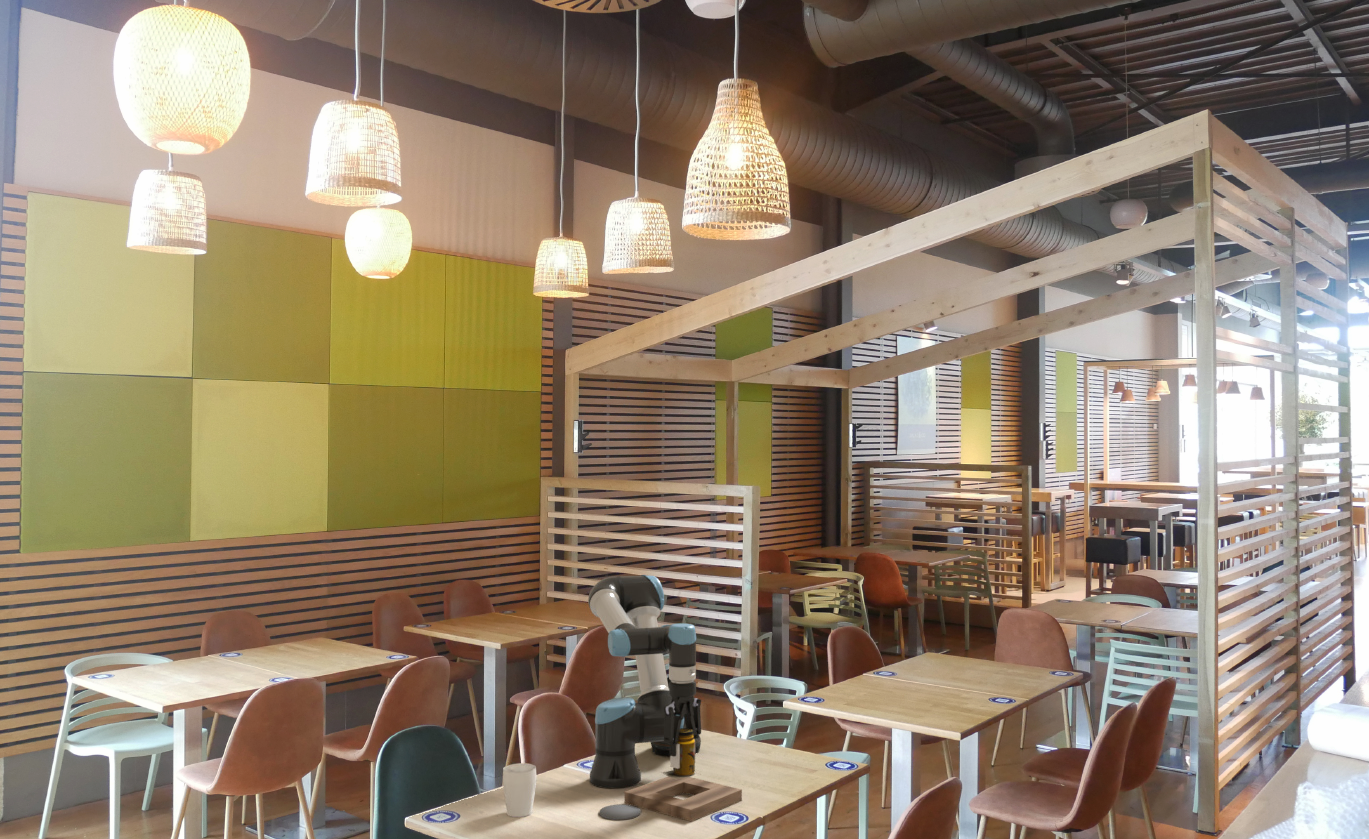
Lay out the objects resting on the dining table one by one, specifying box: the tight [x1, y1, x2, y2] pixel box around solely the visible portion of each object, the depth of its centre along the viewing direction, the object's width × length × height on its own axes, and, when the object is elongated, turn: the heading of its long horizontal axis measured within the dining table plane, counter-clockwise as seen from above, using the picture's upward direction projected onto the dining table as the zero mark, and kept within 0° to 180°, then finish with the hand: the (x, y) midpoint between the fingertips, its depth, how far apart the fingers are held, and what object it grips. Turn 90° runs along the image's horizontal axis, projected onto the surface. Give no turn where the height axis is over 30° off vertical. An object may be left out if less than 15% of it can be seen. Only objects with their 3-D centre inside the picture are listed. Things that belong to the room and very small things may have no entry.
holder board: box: [623, 776, 743, 822], centre depth 283 cm, size 24×22×3 cm
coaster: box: [598, 803, 642, 821], centre depth 274 cm, size 11×11×1 cm
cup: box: [502, 762, 538, 818], centre depth 275 cm, size 9×9×12 cm
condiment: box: [661, 728, 701, 780], centre depth 284 cm, size 7×8×12 cm
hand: (682, 764), depth 284 cm, fingers closed on condiment, 6 cm apart
